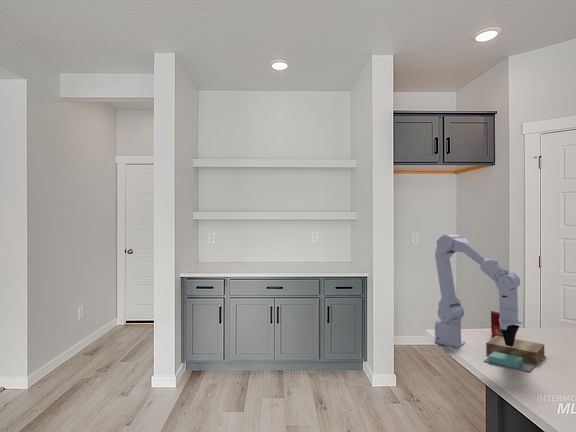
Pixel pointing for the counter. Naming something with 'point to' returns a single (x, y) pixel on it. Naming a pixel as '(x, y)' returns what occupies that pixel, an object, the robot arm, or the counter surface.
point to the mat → (524, 367)
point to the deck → (517, 349)
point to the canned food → (495, 323)
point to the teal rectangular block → (505, 359)
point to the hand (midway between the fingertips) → (509, 345)
